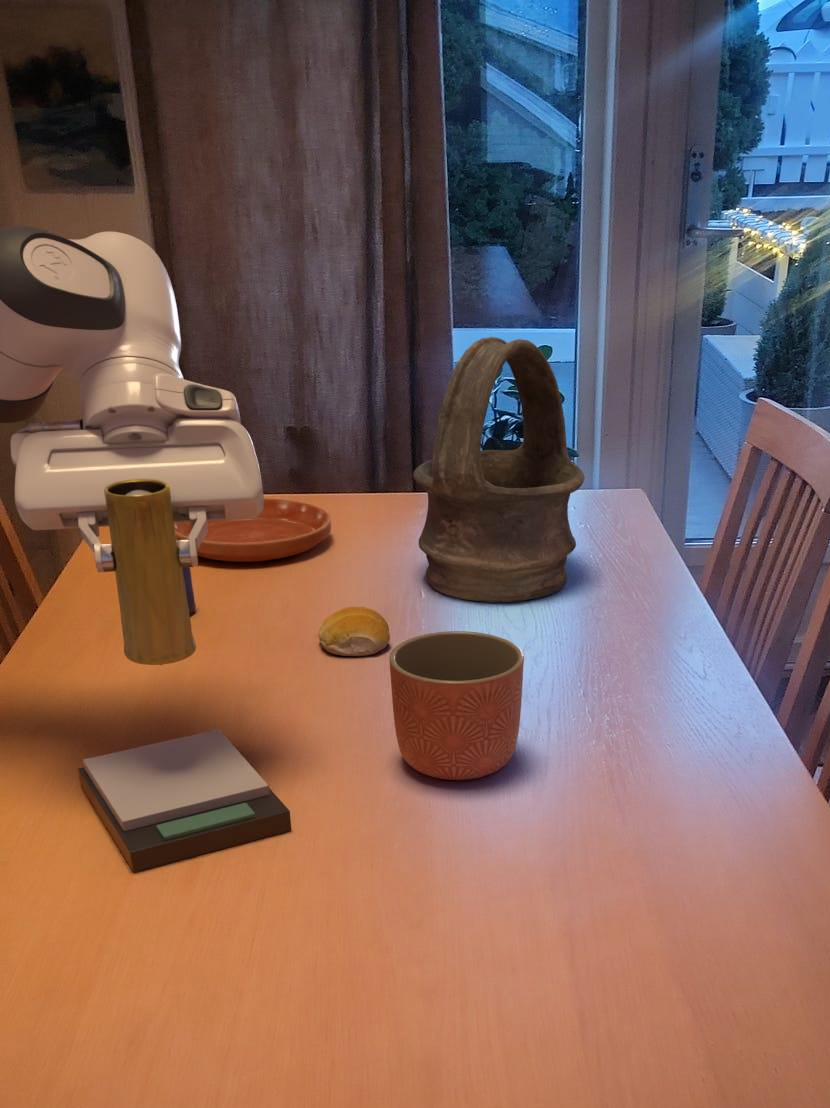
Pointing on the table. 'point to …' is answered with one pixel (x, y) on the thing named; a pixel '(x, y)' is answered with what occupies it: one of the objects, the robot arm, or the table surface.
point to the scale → (181, 799)
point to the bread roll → (354, 632)
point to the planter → (457, 702)
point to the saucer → (263, 533)
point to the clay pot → (499, 484)
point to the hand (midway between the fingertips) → (148, 566)
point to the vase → (148, 573)
